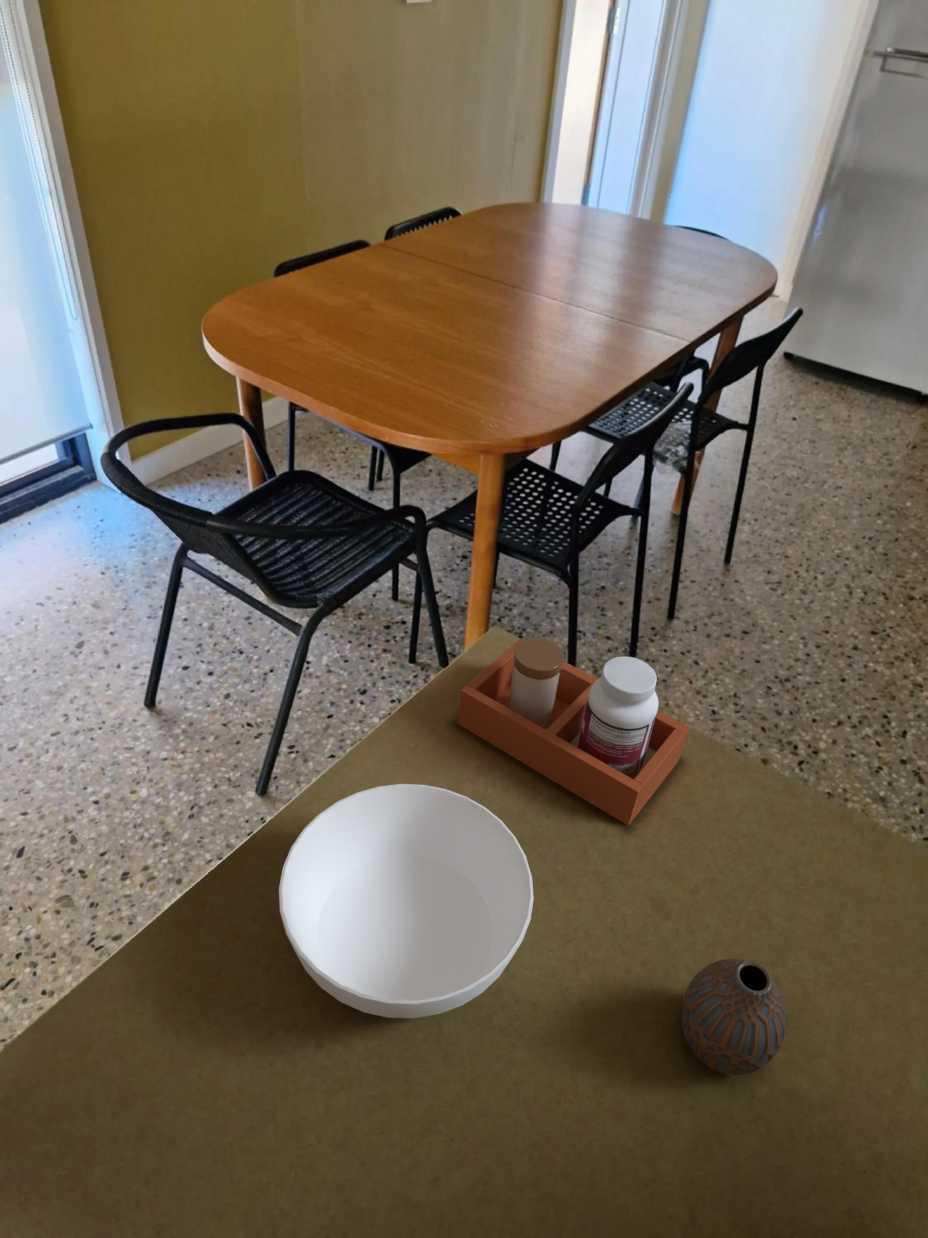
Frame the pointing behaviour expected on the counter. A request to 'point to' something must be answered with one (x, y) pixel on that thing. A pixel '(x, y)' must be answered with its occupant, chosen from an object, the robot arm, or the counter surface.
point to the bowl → (405, 899)
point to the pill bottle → (620, 715)
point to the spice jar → (535, 679)
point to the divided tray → (567, 739)
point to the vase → (734, 1016)
